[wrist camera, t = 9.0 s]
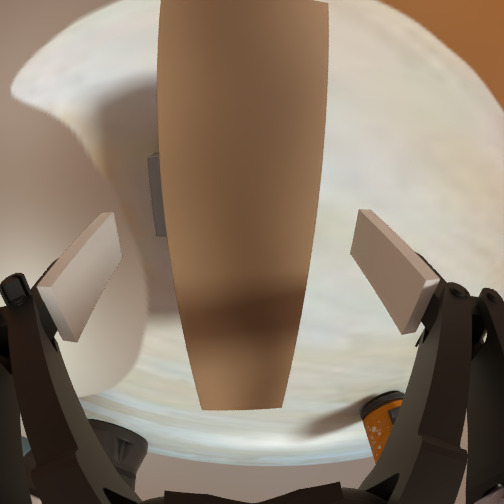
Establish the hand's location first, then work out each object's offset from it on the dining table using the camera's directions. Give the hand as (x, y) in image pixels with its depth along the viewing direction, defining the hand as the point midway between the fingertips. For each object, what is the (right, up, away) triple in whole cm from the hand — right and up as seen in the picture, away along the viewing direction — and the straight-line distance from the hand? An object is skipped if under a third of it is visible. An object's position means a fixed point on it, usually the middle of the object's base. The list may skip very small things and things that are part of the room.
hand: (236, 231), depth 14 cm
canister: (+24, -28, +26) cm, 45 cm away
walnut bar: (0, 0, 0) cm, 1 cm away
